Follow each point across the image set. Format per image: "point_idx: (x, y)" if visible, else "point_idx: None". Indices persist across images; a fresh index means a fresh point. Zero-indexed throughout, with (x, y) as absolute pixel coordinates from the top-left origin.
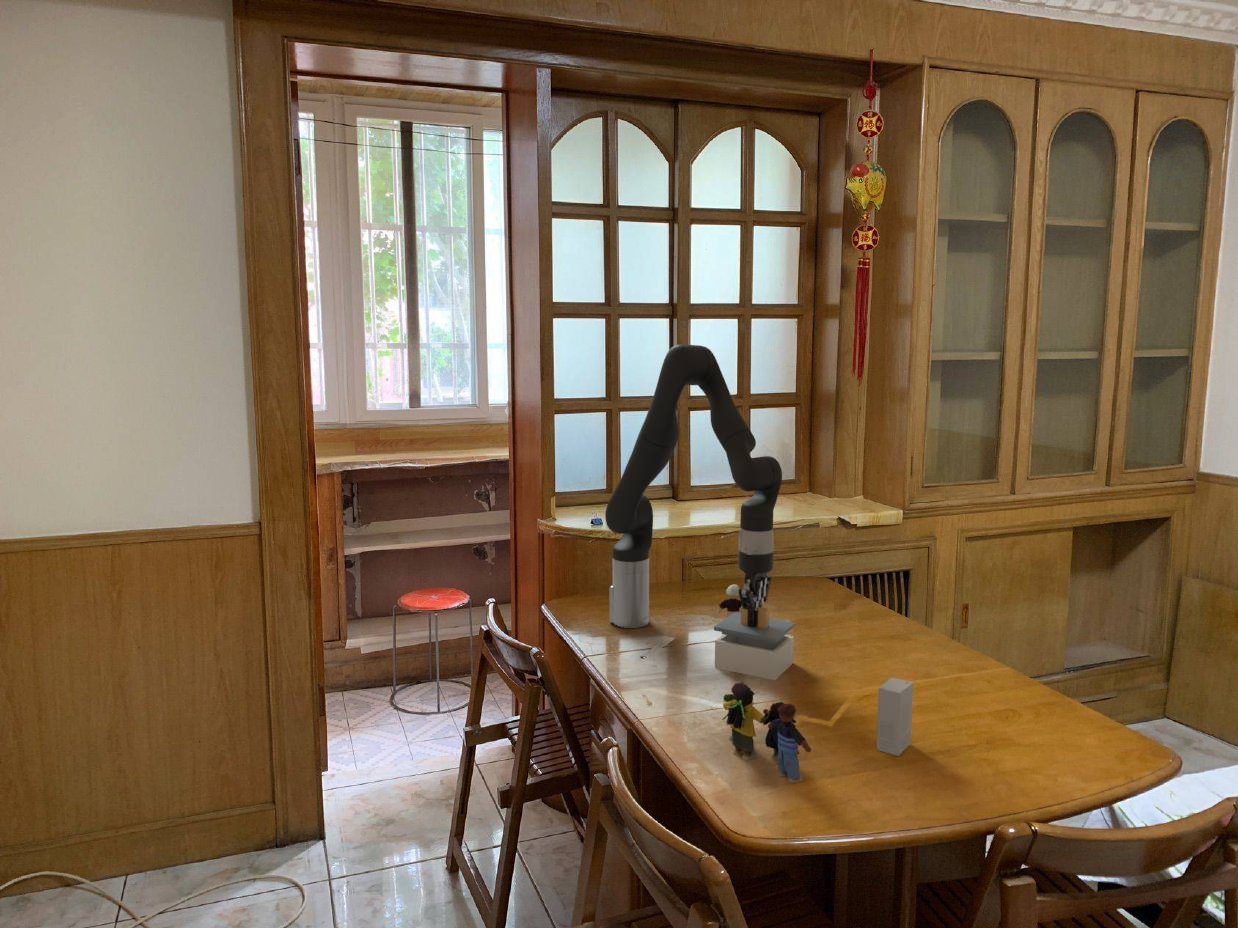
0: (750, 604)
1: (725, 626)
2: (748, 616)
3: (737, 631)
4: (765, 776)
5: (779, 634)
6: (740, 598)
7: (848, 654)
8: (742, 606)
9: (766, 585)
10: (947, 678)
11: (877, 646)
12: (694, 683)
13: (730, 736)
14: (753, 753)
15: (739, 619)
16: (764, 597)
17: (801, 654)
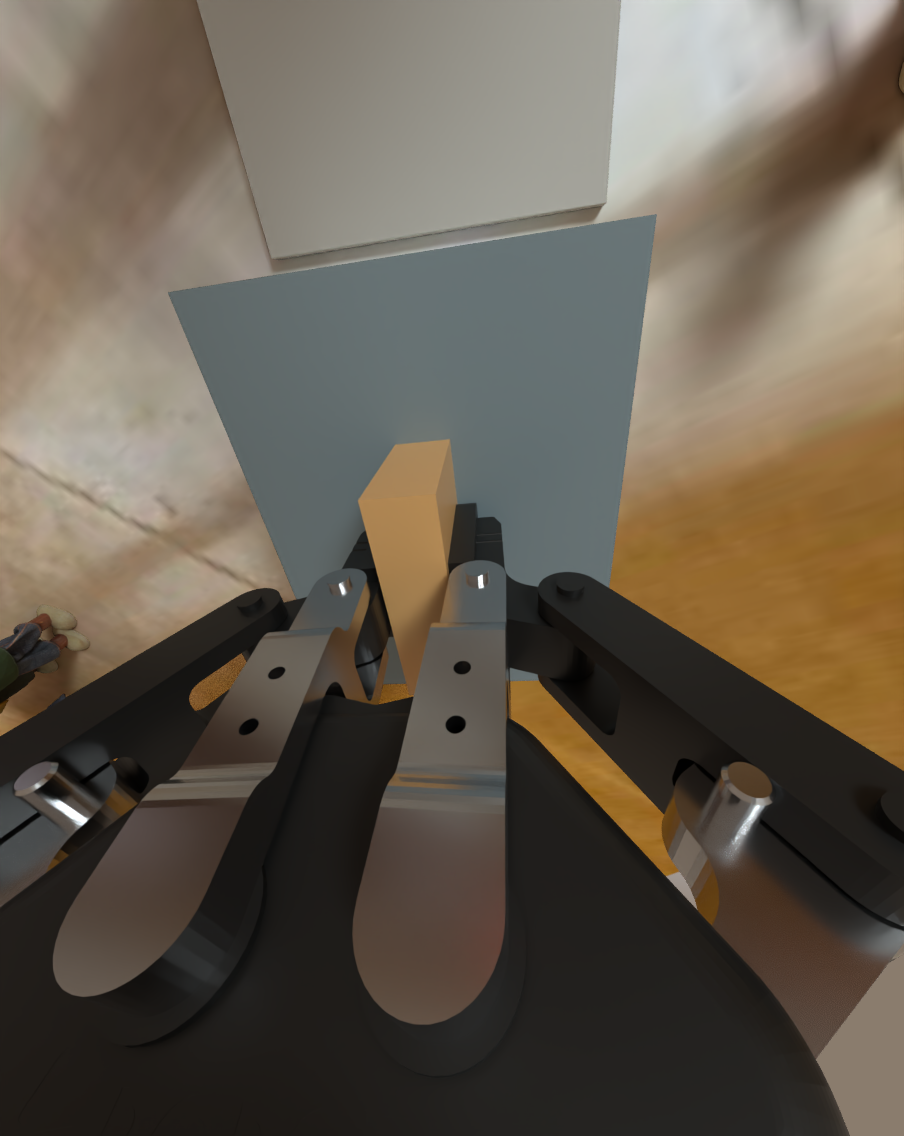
0: (206, 713)
1: (256, 379)
2: (350, 559)
3: (256, 502)
4: (32, 701)
5: (391, 678)
6: (70, 700)
7: (743, 642)
8: (213, 612)
9: (666, 804)
10: (649, 804)
11: (849, 681)
12: (151, 313)
13: (39, 611)
14: (43, 672)
15: (472, 385)
16: (550, 690)
17: (690, 529)
